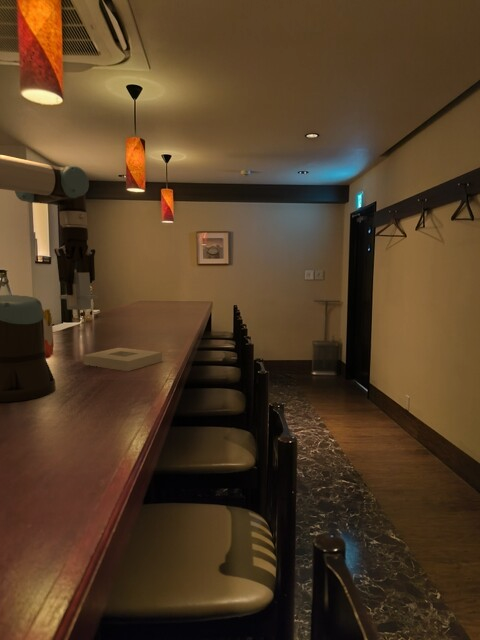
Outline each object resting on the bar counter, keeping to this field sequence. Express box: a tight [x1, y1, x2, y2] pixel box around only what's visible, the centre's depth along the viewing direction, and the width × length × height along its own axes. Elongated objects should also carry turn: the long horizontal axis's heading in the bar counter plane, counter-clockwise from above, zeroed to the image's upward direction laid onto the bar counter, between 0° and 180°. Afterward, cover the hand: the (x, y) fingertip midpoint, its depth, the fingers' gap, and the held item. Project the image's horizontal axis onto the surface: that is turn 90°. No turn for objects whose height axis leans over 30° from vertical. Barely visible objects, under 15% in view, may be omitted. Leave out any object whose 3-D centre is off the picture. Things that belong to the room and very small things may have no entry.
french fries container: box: [42, 308, 55, 358], centre depth 147 cm, size 5×11×18 cm, turn 14°
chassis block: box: [83, 347, 163, 372], centre depth 134 cm, size 15×19×3 cm
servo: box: [59, 268, 99, 311], centre depth 128 cm, size 4×12×12 cm, turn 62°
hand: (79, 305), depth 129 cm, fingers closed on servo, 4 cm apart
